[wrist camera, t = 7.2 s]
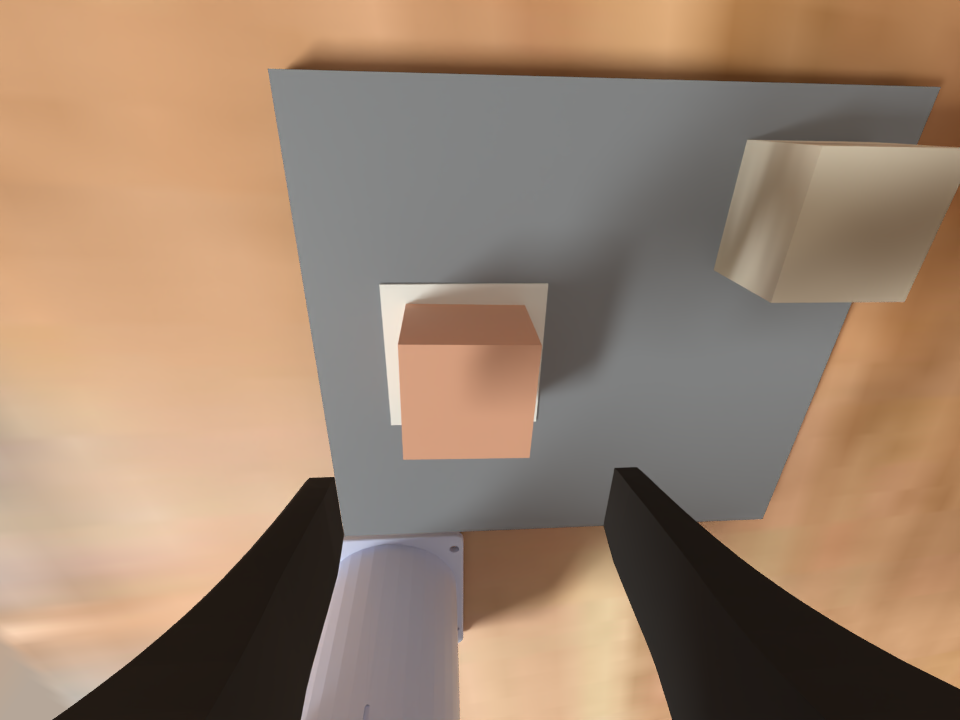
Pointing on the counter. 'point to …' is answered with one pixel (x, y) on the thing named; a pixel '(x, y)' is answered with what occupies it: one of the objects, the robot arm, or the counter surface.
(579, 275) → the board
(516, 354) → the base block
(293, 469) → the counter surface
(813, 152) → the top block
